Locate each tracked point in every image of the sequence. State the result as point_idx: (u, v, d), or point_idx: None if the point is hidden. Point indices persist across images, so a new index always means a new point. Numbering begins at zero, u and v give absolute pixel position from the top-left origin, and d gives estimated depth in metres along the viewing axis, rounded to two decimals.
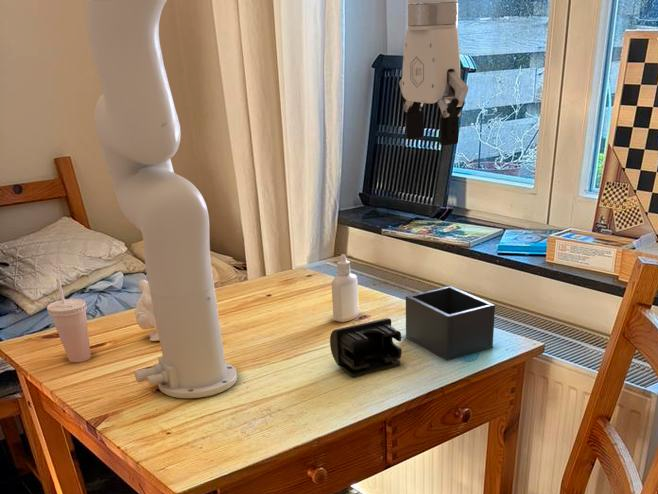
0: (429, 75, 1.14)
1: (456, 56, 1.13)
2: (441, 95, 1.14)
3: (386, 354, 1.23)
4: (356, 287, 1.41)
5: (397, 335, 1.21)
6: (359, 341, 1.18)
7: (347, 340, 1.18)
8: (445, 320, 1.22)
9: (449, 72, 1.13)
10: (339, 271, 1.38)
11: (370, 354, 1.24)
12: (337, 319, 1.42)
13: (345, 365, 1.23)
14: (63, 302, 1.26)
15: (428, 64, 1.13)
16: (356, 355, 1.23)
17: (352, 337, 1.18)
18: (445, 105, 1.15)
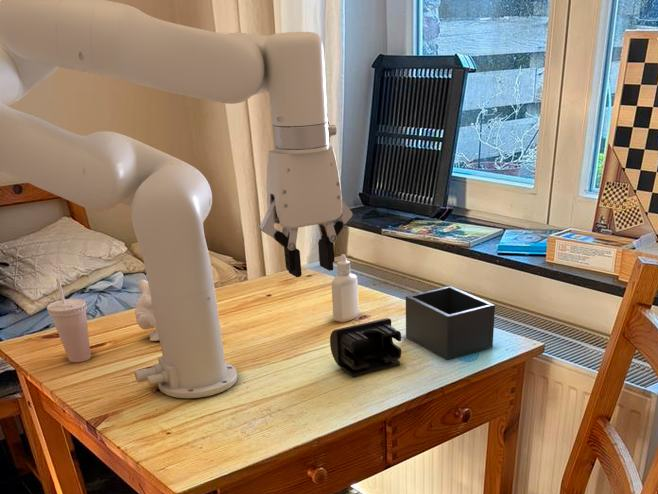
0: None
1: (275, 183, 1.02)
2: None
3: (386, 354, 1.23)
4: (356, 287, 1.41)
5: (397, 335, 1.21)
6: (359, 341, 1.18)
7: (347, 340, 1.18)
8: (445, 320, 1.22)
9: (272, 202, 1.04)
10: (339, 271, 1.38)
11: (370, 354, 1.24)
12: (337, 319, 1.42)
13: (345, 365, 1.23)
14: (63, 302, 1.26)
15: None
16: (356, 355, 1.23)
17: (352, 337, 1.18)
18: None
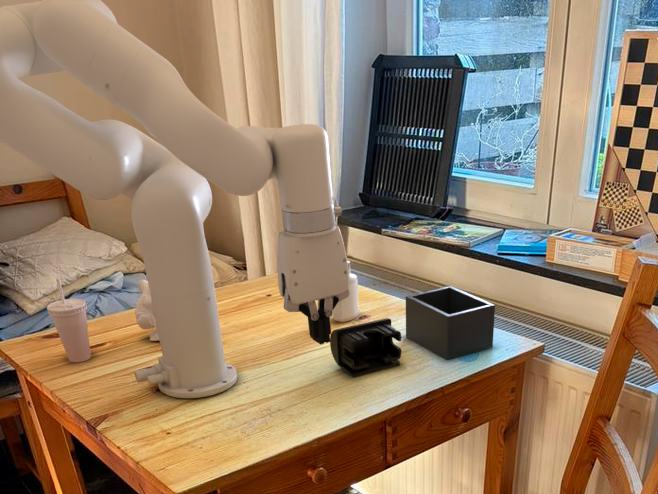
0: None
1: (286, 263, 1.08)
2: (281, 293, 1.12)
3: (386, 354, 1.23)
4: (356, 287, 1.41)
5: (397, 335, 1.21)
6: (359, 341, 1.18)
7: (347, 340, 1.18)
8: (445, 320, 1.22)
9: (286, 282, 1.11)
10: None
11: (370, 354, 1.24)
12: (337, 319, 1.42)
13: (345, 365, 1.23)
14: (63, 302, 1.26)
15: None
16: (356, 355, 1.23)
17: (352, 337, 1.18)
18: None
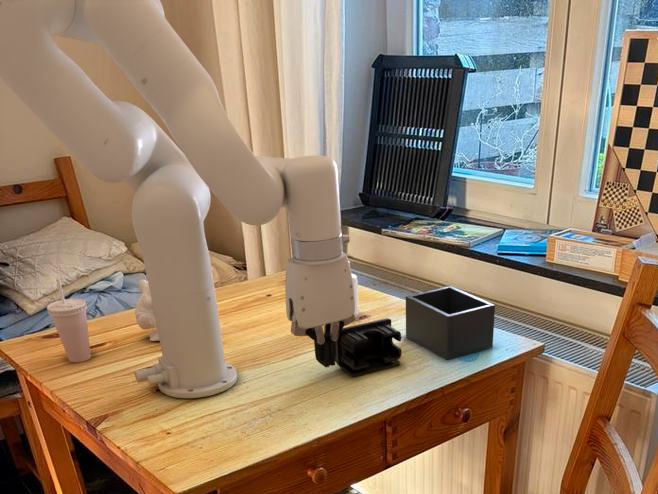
0: None
1: (294, 289, 1.10)
2: (288, 317, 1.15)
3: (386, 354, 1.23)
4: (356, 287, 1.41)
5: (397, 335, 1.21)
6: (359, 341, 1.18)
7: (347, 341, 1.18)
8: (445, 320, 1.22)
9: (294, 307, 1.13)
10: None
11: (370, 354, 1.24)
12: None
13: (345, 365, 1.23)
14: (63, 302, 1.26)
15: None
16: (356, 355, 1.24)
17: (352, 337, 1.18)
18: None
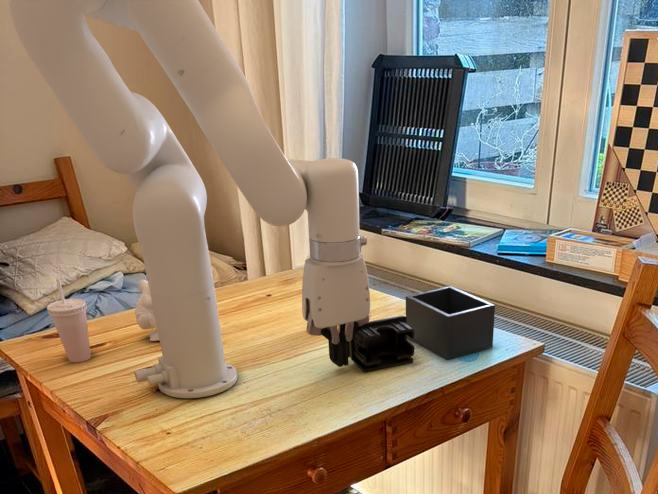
0: None
1: (311, 289, 1.12)
2: (304, 317, 1.17)
3: (400, 351, 1.24)
4: None
5: (410, 333, 1.22)
6: (371, 337, 1.19)
7: (359, 336, 1.20)
8: (445, 320, 1.22)
9: (310, 307, 1.15)
10: None
11: (384, 350, 1.25)
12: None
13: (358, 360, 1.24)
14: (63, 302, 1.26)
15: None
16: (370, 351, 1.25)
17: (365, 333, 1.20)
18: None
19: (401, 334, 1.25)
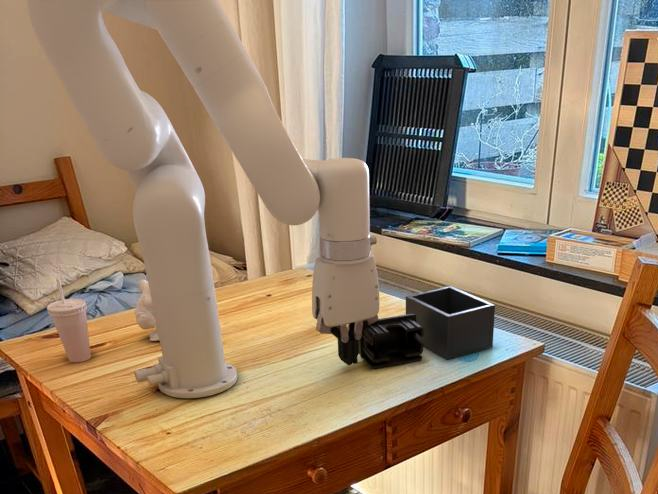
0: None
1: (321, 288, 1.13)
2: (314, 315, 1.17)
3: (409, 349, 1.25)
4: None
5: (419, 331, 1.22)
6: (380, 334, 1.20)
7: (368, 333, 1.21)
8: (445, 320, 1.22)
9: (320, 305, 1.16)
10: None
11: (393, 348, 1.26)
12: None
13: (368, 357, 1.25)
14: (63, 302, 1.26)
15: None
16: (379, 348, 1.26)
17: (374, 330, 1.21)
18: None
19: (411, 332, 1.26)
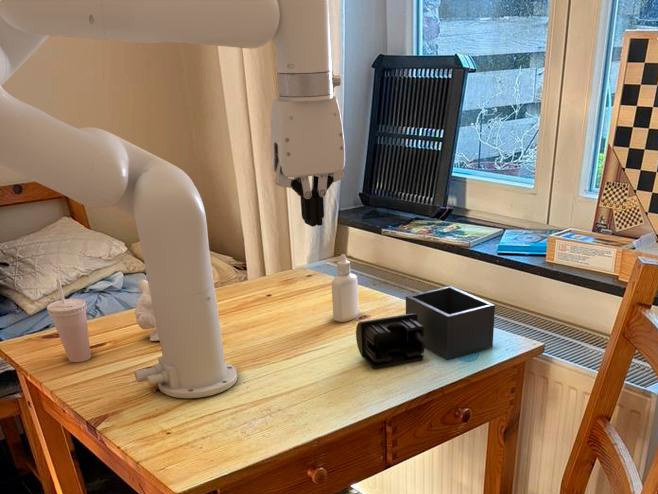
0: None
1: (279, 131, 1.03)
2: (273, 167, 1.08)
3: (410, 348, 1.25)
4: (356, 287, 1.41)
5: (421, 330, 1.22)
6: (381, 334, 1.20)
7: (369, 333, 1.21)
8: (445, 320, 1.22)
9: None
10: (339, 271, 1.38)
11: (395, 347, 1.26)
12: (337, 319, 1.42)
13: (369, 357, 1.25)
14: (63, 302, 1.26)
15: None
16: (381, 348, 1.26)
17: (375, 330, 1.21)
18: None
19: (412, 331, 1.26)
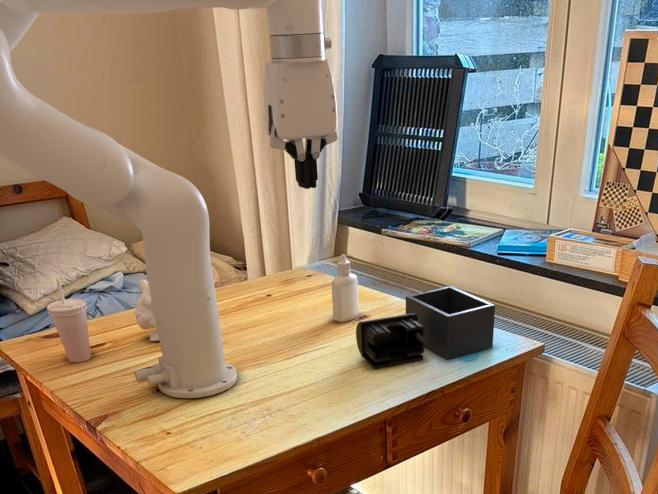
0: None
1: (273, 93, 1.06)
2: (267, 130, 1.10)
3: (410, 348, 1.25)
4: (356, 287, 1.41)
5: (421, 330, 1.22)
6: (381, 334, 1.20)
7: (369, 333, 1.21)
8: (445, 320, 1.22)
9: (273, 117, 1.09)
10: (339, 271, 1.38)
11: (395, 347, 1.26)
12: (337, 319, 1.42)
13: (369, 357, 1.25)
14: (63, 302, 1.26)
15: None
16: (381, 348, 1.26)
17: (375, 330, 1.21)
18: None
19: (412, 331, 1.26)
